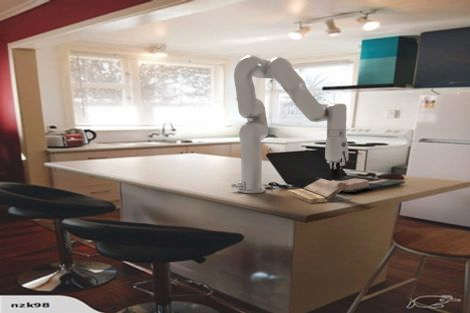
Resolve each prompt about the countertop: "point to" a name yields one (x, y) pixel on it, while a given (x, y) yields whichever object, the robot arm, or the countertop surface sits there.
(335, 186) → the plank
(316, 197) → the laid board
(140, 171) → the countertop surface
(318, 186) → the plank
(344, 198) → the underlay mat
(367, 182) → the brick
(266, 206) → the countertop surface
